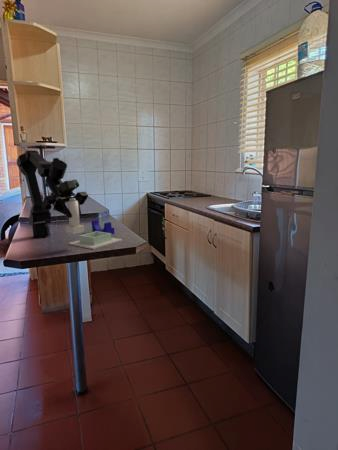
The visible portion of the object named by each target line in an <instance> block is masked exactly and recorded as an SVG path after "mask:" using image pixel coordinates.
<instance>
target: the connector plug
mask: <svg viewBox="0 0 338 450" xmlns="http://www.w3.org/2000/svg"><path fill="white" fill-rule="evenodd" d="M67 208H68V209H69V211H70V213H71V215H72V217H71V218H70V217H68V224H69V225H65V232H66V233H67V234H72V235H76V234H80V233H83V232H85V225H83V224H81V222H80V220H81V219H80V216H79V208H78V201H76V198H71V199H69V201H67Z"/></svg>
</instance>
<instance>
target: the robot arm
mask: <svg viewBox="0 0 338 450" xmlns="http://www.w3.org/2000/svg"><path fill="white" fill-rule="evenodd" d="M52 159H53V160H52V161H49V160H47V159H45V158H44V156H42V155H41V154H39V151H38V150H26V151H25V152H24V153H21V154H20V155H18V157H17V159H16V165H17V167H18V168H19V171H20V173H21V174H22V175H23V176H24V177H25V178H24V179H25V181H26V185H27V190H28V193H29V197H30V201H31V207H30V210H29V212H30V214H29V217H28V224H29V226H32V227H31V228H32V235H33V236H31V239H39V238H40V239H43V238H44V239H46V238H47V237H49V236H50V235H51V233H50V232H51V231H50V226H49V224H51V221H52V213H51V211H50V210H51V209H52V210H53V211H57V212H58V213H61V214H63V215H64V216H66V217H68V218H69V217H70V218H71V217H72V215H71V213H70V211H69V209H68V205H66V203H67V201H69V199H71V198H76V201H78V208H79V217H81V216H82V211H81V205H82V206H83V205H84V204H85V202H86V201H87V199H88V197H89V194H88V193H87V192H86V191H78V192H76V193H75V195H73V194H74V191H75V190H76V189H78V188H79V187H80V183H79V181H78V180H77V179H71V180H64V181H63V180H62V179H63V178H64V177H65V173H66V171H67V168H68V163H66V162H65V161H63V160H61V159H59V157H53V158H52ZM36 173H37V174H38V175H39V177H41V178H45V184H44V186H45V188H48V189H49V190H50V192H51V194H50V195H45V197H44V198H42V194H41V191H40V186H39V181H38V179H37V174H36ZM67 204H68V203H67ZM52 205H53V207H52Z"/></svg>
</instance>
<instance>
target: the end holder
mask: <svg viewBox="0 0 338 450" xmlns="http://www.w3.org/2000/svg"><path fill="white" fill-rule="evenodd" d="M78 238H79V239H78V240H75V241H71V242H68V245H70V246H74V247H81V248H86V249H90V250H97V249H99V248H103V247H106V246H110V245H113V244H116V243H121V242H122V241H123V239H122V238H116V237H112V234H111V233H105V232H99V231H95V232H92V231H91V232H87V233H84V234H78Z"/></svg>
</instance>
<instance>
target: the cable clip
mask: <svg viewBox="0 0 338 450" xmlns="http://www.w3.org/2000/svg"><path fill="white" fill-rule="evenodd" d="M91 230H92V231H91V232H95V231H99V232H105V233H111V235H114V234H115V227H112V222H111V221H108V222H104V223H103V228H102V227H101V226H100V222H99V220H98V219H95V220H91Z"/></svg>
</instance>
